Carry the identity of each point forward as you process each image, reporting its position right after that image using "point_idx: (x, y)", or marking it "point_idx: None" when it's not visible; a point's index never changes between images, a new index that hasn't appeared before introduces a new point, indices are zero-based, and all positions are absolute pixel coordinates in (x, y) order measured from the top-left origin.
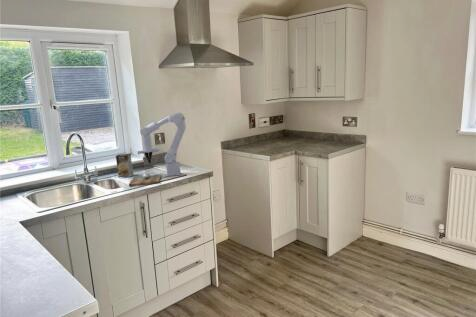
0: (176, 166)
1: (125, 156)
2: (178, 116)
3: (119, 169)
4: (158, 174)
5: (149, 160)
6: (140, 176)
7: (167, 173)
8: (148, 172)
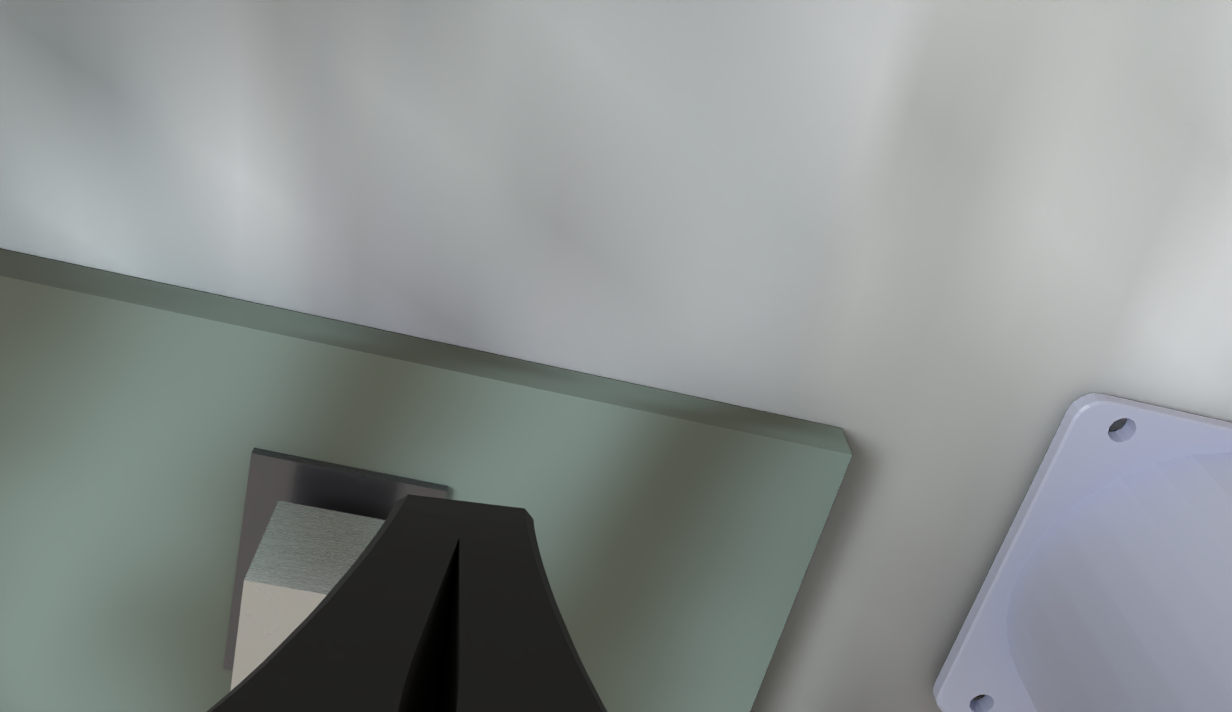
0: None
1: None
2: None
3: None
4: (748, 476)
5: (444, 599)
6: (63, 340)
7: (1023, 665)
8: None
